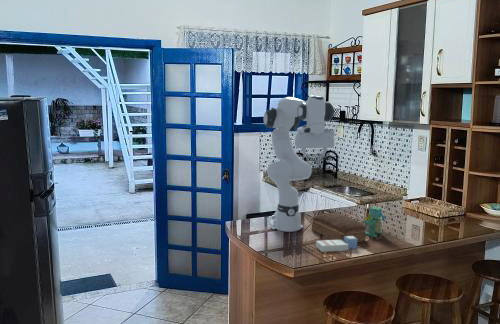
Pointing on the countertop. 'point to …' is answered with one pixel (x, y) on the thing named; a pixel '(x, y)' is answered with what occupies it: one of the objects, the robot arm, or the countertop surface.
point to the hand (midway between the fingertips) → (314, 156)
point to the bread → (338, 226)
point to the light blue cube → (351, 242)
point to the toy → (374, 222)
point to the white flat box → (331, 245)
